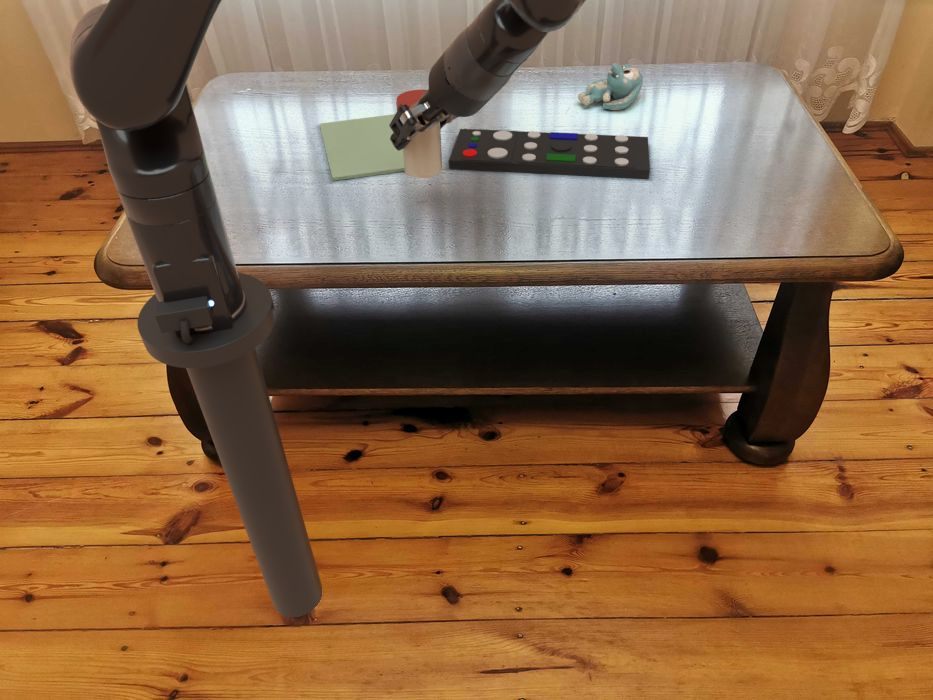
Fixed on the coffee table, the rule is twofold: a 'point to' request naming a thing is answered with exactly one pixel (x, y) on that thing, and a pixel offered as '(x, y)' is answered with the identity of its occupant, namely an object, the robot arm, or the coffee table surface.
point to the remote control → (551, 153)
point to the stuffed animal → (615, 88)
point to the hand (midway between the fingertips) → (412, 136)
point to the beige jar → (424, 154)
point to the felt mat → (361, 147)
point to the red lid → (409, 98)
